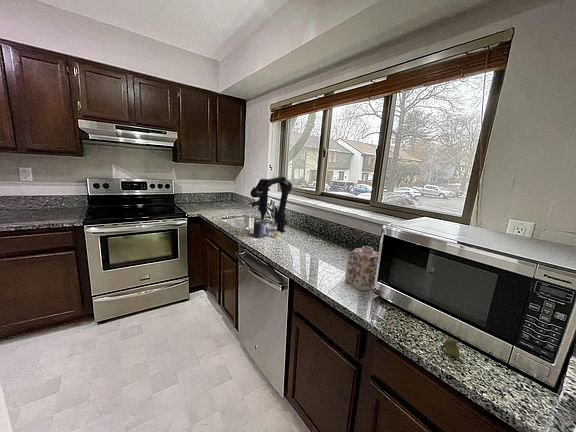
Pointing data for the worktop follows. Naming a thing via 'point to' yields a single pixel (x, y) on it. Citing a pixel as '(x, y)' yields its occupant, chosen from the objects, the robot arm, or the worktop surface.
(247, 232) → the marked block 1
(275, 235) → the marked block 2
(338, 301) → the worktop surface
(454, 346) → the lime
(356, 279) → the decorative jar
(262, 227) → the small box
